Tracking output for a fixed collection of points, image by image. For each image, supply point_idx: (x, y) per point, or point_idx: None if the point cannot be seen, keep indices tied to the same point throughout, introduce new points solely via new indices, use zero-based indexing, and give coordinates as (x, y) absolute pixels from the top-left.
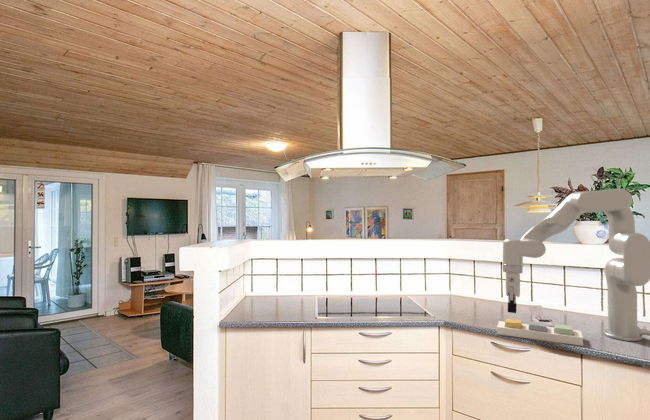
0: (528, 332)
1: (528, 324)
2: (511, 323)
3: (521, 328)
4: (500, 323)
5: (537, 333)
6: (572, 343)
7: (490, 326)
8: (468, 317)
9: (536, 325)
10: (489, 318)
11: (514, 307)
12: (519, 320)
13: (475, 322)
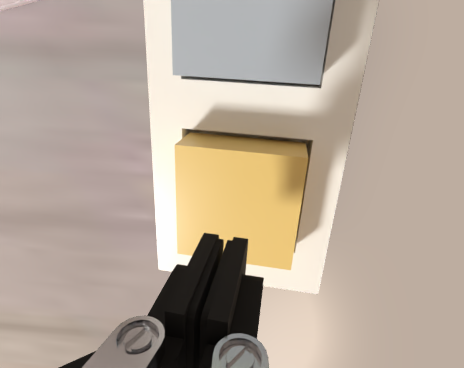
0: (357, 90)
1: (149, 81)
2: (296, 226)
3: (191, 129)
4: None
5: (373, 12)
6: None
7: None
8: (66, 352)
9: (324, 11)
10: (20, 273)
11: (236, 294)
12: (194, 163)
13: None
